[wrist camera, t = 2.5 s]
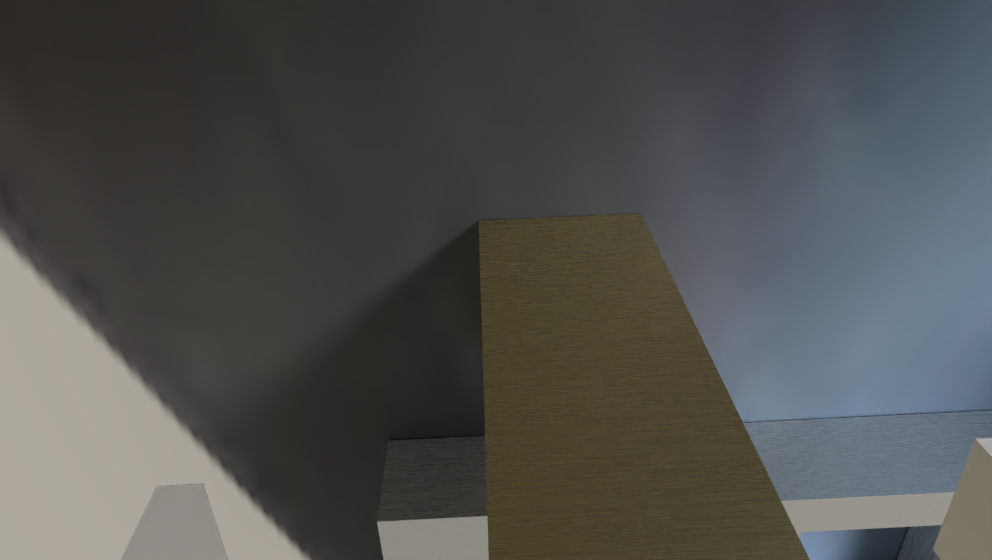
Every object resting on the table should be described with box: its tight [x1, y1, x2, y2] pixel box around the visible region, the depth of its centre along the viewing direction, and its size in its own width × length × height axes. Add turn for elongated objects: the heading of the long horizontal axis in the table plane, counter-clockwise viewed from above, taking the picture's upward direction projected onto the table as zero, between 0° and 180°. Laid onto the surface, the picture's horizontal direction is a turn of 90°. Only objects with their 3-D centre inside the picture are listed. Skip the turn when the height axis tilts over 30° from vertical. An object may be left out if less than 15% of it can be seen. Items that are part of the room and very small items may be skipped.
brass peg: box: [479, 213, 810, 560], centre depth 13 cm, size 4×4×12 cm
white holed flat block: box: [377, 410, 992, 560], centre depth 22 cm, size 8×28×3 cm, turn 92°
